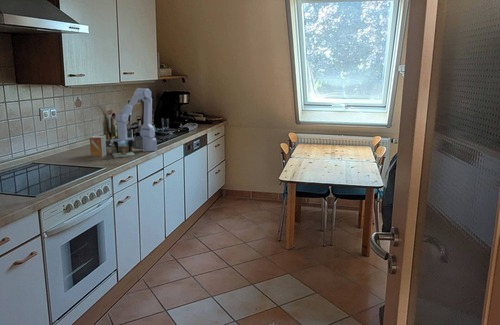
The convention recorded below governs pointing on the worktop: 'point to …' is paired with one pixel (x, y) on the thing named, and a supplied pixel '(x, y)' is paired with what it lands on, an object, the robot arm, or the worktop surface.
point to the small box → (98, 146)
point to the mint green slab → (123, 154)
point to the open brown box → (120, 149)
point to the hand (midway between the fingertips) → (123, 152)
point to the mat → (124, 156)
